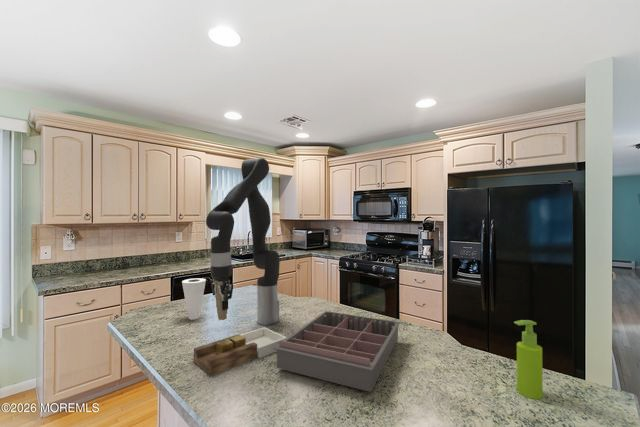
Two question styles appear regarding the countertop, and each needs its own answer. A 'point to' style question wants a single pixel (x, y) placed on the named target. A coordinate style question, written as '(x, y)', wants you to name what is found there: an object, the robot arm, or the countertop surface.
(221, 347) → the chip
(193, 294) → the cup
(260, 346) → the tray
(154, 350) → the countertop surface
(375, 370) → the organizer tray
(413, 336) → the countertop surface
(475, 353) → the countertop surface
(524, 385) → the soap dispenser
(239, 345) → the golden brown cube
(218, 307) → the handle
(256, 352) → the slot board
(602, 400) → the countertop surface
